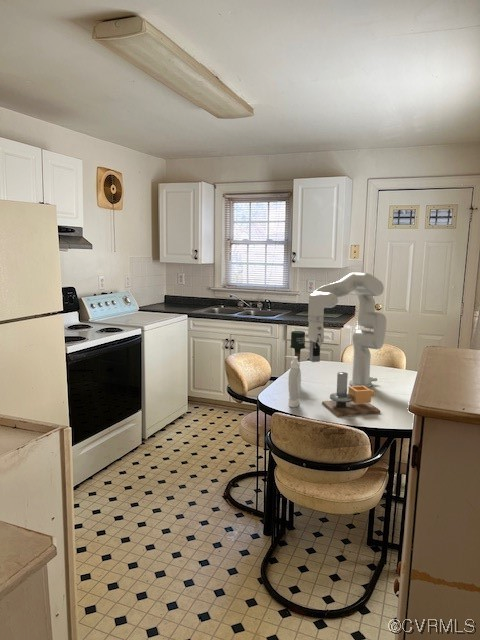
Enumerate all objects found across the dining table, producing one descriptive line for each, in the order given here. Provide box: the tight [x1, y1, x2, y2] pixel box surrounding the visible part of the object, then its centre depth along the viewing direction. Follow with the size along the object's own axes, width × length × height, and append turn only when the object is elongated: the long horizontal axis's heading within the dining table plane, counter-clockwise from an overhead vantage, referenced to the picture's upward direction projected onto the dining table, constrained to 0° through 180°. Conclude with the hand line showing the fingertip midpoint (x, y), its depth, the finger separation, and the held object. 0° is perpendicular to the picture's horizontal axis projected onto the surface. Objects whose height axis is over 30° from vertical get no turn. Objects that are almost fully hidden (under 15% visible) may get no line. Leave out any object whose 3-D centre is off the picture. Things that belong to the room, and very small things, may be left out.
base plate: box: [321, 400, 381, 418], centre depth 231 cm, size 22×18×2 cm
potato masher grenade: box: [289, 330, 306, 364], centre depth 270 cm, size 8×9×30 cm
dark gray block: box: [308, 340, 321, 363], centre depth 237 cm, size 4×4×10 cm
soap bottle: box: [285, 355, 302, 408], centre depth 234 cm, size 13×8×24 cm, turn 159°
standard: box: [329, 371, 353, 408], centre depth 228 cm, size 11×11×16 cm
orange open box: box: [347, 385, 376, 403], centre depth 231 cm, size 12×8×6 cm
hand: (314, 354), depth 237 cm, fingers closed on dark gray block, 4 cm apart
